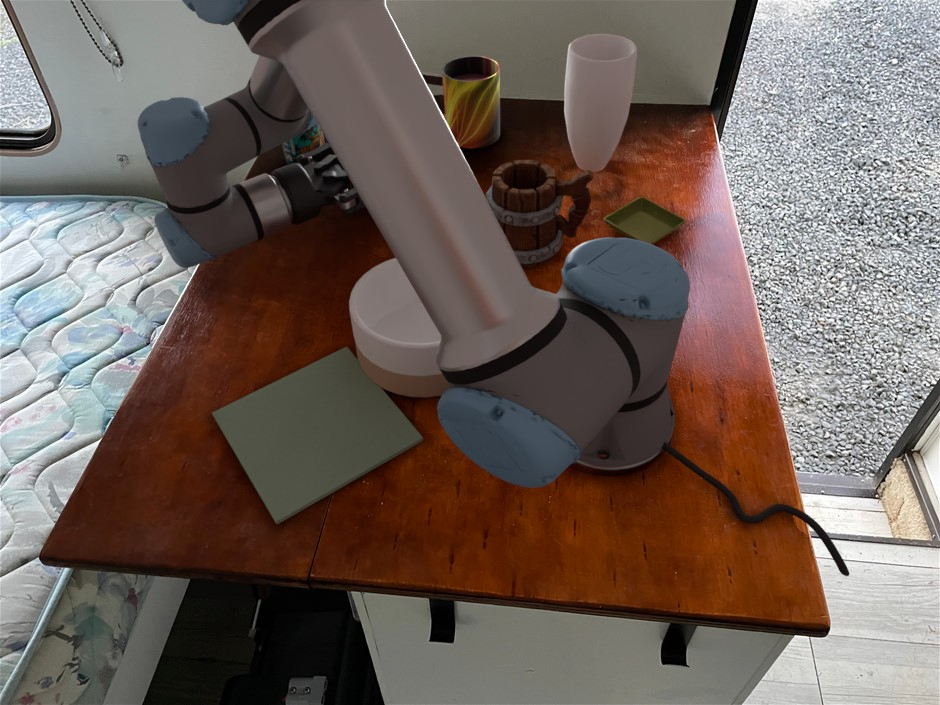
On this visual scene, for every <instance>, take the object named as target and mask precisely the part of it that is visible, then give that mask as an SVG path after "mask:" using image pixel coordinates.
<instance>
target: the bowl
mask: <svg viewBox="0 0 940 705" xmlns="http://www.w3.org/2000/svg"><path fill="white" fill-rule="evenodd" d="M348 309H349V318H350V322H351V328H352V335H353V339H354V344H355V349H356V356H357V357H356V358H357V359H358V360H359V363H360V366H361V368H362V369H363V371H364V372H365V374H366V375H367V377H368V378H370V379H371V380H372V381H373V382H374V383H375V384H377V385H378V386H380V387H381V388H382V389H383V390H384V391H388V392H390V393H393V394H396V395H398V396H399V395H400V396H404V397H410V398H432V397H433V398H434V397H441V396H442V395H443V393H444V392H445V391H446V390H447V389H450V386H449V384H448V382H447V381H446V379H445V377H444V375H443V374H442V372H441V370H440V369H439V367H438V365H437V363H436V355H437V352H438V348H439V345H440V341H441V335H440V333H439V331H438V330H437V328H436V326H435V324H434V323H433V321H432V319H431V318H430V316H429V314H428V312H427V311H426V309H425V307H424V306H423V304H422V302H421V300H420V299H419V297H418V295H417V294H416V292H415V290H414V288H413V287H412V285H411V283H410V282H409V280H408V278H407V276H406V275H405V273H404V271H403V270H402V268H401V266H400V264H399V263H398V261H397V259H396V258H395V257H394V258H391V259H388V260H385V261H383V262H381V263H379V264H377V265H374V266H373V267H372V268H371V269H369V270H368V271H367V272H365V273H364V274H363V275H362V276H361V277H360V278H359V279H358V280H357V281H356V283H355V284H354V286H353V288H352V289H351V292H350V296H349V300H348Z"/></svg>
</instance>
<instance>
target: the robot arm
mask: <svg viewBox="0 0 940 705" xmlns="http://www.w3.org/2000/svg"><path fill="white" fill-rule="evenodd" d="M181 1H182V3H183V4H184V5H185V6H186V7H187V8H188V9H189V10H190V11H191V12H193V13H194V12H195V14H196V16H197V18H199V19H201V20H202V21H203V22H206V23H209V24H212V25H222V26H228V25H231V24H232V23H233V25H234V26H235V27H236V29H237V31H238V32H239V34H240V35H241V37H242V38H243V40H244V42H245V44H246V46H247V47H248V49H249V50H250V52H251V53H252V54H254V55H258V58H257V61H256V63H255V65H254V68H253V70H252V73H251V75H250V78H249V79H248V82H247V84H246V86H245V87H244V88H242V89H240V90H238V91H236V92H234V93H232V94H230V95H228V96H226V97H224V98H222V99H220V100H217V101H214V102H213V103H210V104H208V105H206V106H203V104H201V103H200V102H199V101H198V100H196V99H194V98H191V97H182V96H181V97H180V96H178V97H170V98H169V99H166V100H161V99H160V100H158V101H156V102H153V103H151V104H149V105H148V106H146V107H145V108H144V109H143V110H142V111H141V113H139V116H138V118H137V129H138V133H139V136H140V140H141V142H142V146H143V149H144V152H145V156H146V159H147V161H148V162H149V164H150V166H151V168H152V170H153V174H154V175H155V177H156V179H157V181H158V184H159V186H160V189H161V191H162V193H163V195H164V197H165V198H164V199H165V201H166V207H167V208H163V210H161V211H160V212H158V213H156V215H155V216H154V224H155V226H156V229H157V232H158V234H159V237H160V238H161V240H162V243H163V244H164V246H165V249H166V250H167V252H168V254H169V256H170V257H171V258H172V260H173V262H174V263H175V265H177V266H178V267H180V268H182V269H189V268H192V267H195V266H199V265H201V264H204V263H207V262H210V261H215V260H217V259H219V258H220V257H223V256H225V255H227V254H229V253H231V252H234V251H236V250H238V249H241V248H243V247H245V246H247V245H250V244H252V243H254V242H258V241H260V240H263V239H265V238H268V237H271V236H273V235H275V234H278V233H280V232H283V231H285V230H288V229H290V227H291V225H294V226H298V225H301V224H304V223H306V222H308V221H311V220H314V219H315V218H318V217H319V215H320V213H321V210H322V208H323V207H326V206H333V205H337V206H338V207H340V210H341V214H342V215H350V214H351V213H353V212H356V211H357V210H359V209H363V208H366V209H367V211H368V214H369V215H370V217H371V218H372V220H373V222H374V224H375V225H376V227H377V229H378V230H379V232H380V233H381V235H382V237H383V239H384V241H385V242H386V244H387V246H388V247H389V250H390V251H391V253H392V255H393V256H394V258H396V259H397V261H398V263H399V264H400V266H401V268H402V270H403V271H404V273H405V275H406V276H407V278H408V280H409V282H410V283H411V285H412V287H413V288H414V290H415V292H416V294H417V295H418V297H419V299H420V300H421V302H422V304H423V306H424V307H425V309H426V311H427V312H428V314H429V316H430V318H431V319H432V321H433V323H434V324H435V326H436V328H437V330H438V331H439V333H440V335H441V341H440V345H439V348H438V352H437V355H436V363H437V365H438V367H439V369H440V370H441V372H442V374H443V375H444V377H445V379H446V381H447V382H448V384H449V386H450V389H447V390H446V391H445V392H444V393H443V395H441V396H440V399H439V400H438V402H437V407H436V408H437V409H436V410H437V417H438V420H439V423H440V425H441V428H442V429H443V431H444V432H445V434H446V435H447V437H448V438H449V439H450V441H451V442H452V443H453V444H454V445H455V446H456V447H457V448H458V449H459V450H460V451H461V452H462V454H464V455H465V456H466V457H467V458H468V459H469V460H470V461H471V462H473V463H474V464H475V465H477V466H478V467H480V468H481V469H482V470H484V471H486V472H487V473H489V474H490V475H492V476H494V477H495V478H497V479H499V480H501V481H503V482H506V483H508V484H510V485H514V486H518V487H522V488H528V489H535V488H537V489H538V488H542V487H545V486H548V485H550V484H552V483H553V482H555V480H557V479H558V478H559V477H560V475H562V474H563V473H564V471H566V470H567V469H568V467H572V468H574V469H575V470H578V471H581V472H584V473H587V474H590V475H595V476H601V477H602V476H604V477H620V476H621V477H622V476H627V475H632V474H636V473H638V472H641V471H643V470H645V469H647V468H650V466H652V465H654V464H655V463H657V461H658V460H659V459H661V458H662V457H663V455H664V454H665V453H668V454H669V455H670V456H672V457H673V458H674V459H676V460H677V461H678V462H680V463H681V464H682V465H684V467H686V468H687V469H689V470H690V471H691V472H692V473H694V474H696V475H697V476H698V477H700V478H701V479H703V480H704V481H706V482H707V483H708V484H710V485H711V486H713V487H714V488H716V489H717V491H719V492H720V493H722V495H724V497H726V499H727V500H728V501H729V503H730V506H731V508H732V511H733V513H734V514H735V516H736V517H737V518H738V519H739V520H740V521H742V522H744V523H747V524H754V525H755V524H759V523H761V522H762V523H763V522H764V521H765V520H767V519H768V518H769V517H771V516H773V515H774V514H777V513H779V512H782V513H783V512H784V513H787V514H789V515H792V516H794V517H796V518H798V519H800V520H801V521H803V523H805V524H807V525H808V526H809V527H810V529H812V530H813V531H814V532H815V534H816V535H817V537H819V539H820V540H821V542H822V543H823V544H824V547H825V548H826V549H827V551H828V553H829V554H830V556H831V558H832V560H833V562H834V563H835V565H836V567H837V569H838V571H839V573H840V574H841V575H843V576H845V577H850V571H849V568H848V567H847V564H846V562H845V561H844V559H843V557H842V556H841V554H840V552H839V550H838V549H837V547H836V545H835V544H834V542H833V540H832V539H831V537H830V536H829V535H828V533H827V532H826V530H824V528H823V527H822V526H821V525H820V523H818V522H817V521H816V520H815V519H814V518H813V517H811V516H810V515H809V514H807V513H806V512H805V511H803V510H801V509H799V508H797V507H794V506H792V505H788V504H786V503H775V504H773V505H770V506H768V507H767V508H765V509H764V510H762V511H761V512H759V513H757V514H755V515H750V514H746V513H745V512H744V511H743V509H742V508H741V505H740V502H739V500H738V498H737V497H736V495H735V494H734V493H733V491H732V490H730V489H729V488H728V487H727V486H726V485H725V484H724V483H722V482H721V481H720V480H719V479H717V478H716V477H714V476H713V475H711V474H710V473H709V472H707V471H705V470H704V469H703V468H702V467H700V466H699V465H697V464H695V463H694V462H693V460H690V459H689V458H688V457H686V456H685V455H684V454H682V453H681V452H680V451H678V450H677V449H676V448H675V447H673V446H672V445H670V444H671V441H672V438H673V434H674V430H675V424H676V416H675V408H674V405H673V400H672V398H671V392H670V387H669V378H670V375H671V371H672V370H671V369H672V366H673V363H674V359H675V356H676V351H677V347H678V343H679V340H680V335H681V332H682V328H683V324H684V319H685V316H686V314H687V312H688V310H689V308H690V306H689V304H690V302H689V296H690V290H691V282H690V281H691V280H690V277H689V274H688V272H687V271H686V270H685V269H684V266H683V264H682V263H681V262H680V261H679V259H677V258H676V257H675V256H674V255H673V254H671V253H670V252H668V251H666V250H665V249H663V248H661V247H658V246H657V245H654V244H649V243H646V242H643V241H639V240H635V239H630V238H626V237H612V236H611V237H610V236H608V237H606V236H605V237H599V238H593V239H590V240H587V241H585V242H582V243H580V244H578V245H576V246H575V247H574V248H573V249H572V250H571V251H570V252H568V254H567V256H566V258H565V260H564V265H563V267H562V268H561V278H562V284H561V286H560V288H559V289H558V291H557V292H556V293H554V292H551V291H547V290H544V289H540V288H537V287H535V286H533V285H531V282H530V280H529V278H528V276H527V275H526V272H525V271H524V269H523V268H522V267H521V265H520V263H519V261H518V259H517V257H516V255H515V253H514V251H513V249H512V248H511V246H510V244H509V242H508V240H507V238H506V236H505V234H504V232H503V230H502V228H501V226H500V224H499V223H498V221H497V219H496V217H495V215H494V213H493V211H492V209H491V207H490V205H489V203H488V201H487V197H486V195H485V194H484V192H483V190H482V187H481V186H480V184H479V182H478V179H477V178H476V176H475V174H474V172H473V170H472V169H471V167H470V165H469V163H468V161H467V159H466V158H465V155H464V153H463V151H462V150H461V147H459V146H458V144H457V142H456V140H455V138H454V136H453V134H452V132H451V130H450V128H449V126H448V124H447V122H446V121H445V119H444V117H443V115H442V114H443V113H442V111H441V109H440V107H439V105H438V103H437V101H436V99H435V97H434V95H433V93H432V92H431V90H430V88H429V86H428V84H426V82H425V80H424V78H423V76H422V74H421V72H422V71H421V70H420V69H419V67H418V65H417V63H416V61H415V59H414V57H413V55H412V53H411V51H410V49H409V47H408V45H407V44H406V42H405V39H404V38H403V36H402V34H401V32H400V30H399V28H398V27H397V24H396V22H395V20H394V19H393V17H392V15H391V13H390V11H389V9H388V6H387V0H181ZM420 71H421V72H420ZM315 124H318V125H319V127H320V129H321V130H322V132H323V137H324V138H325V139H326V141H327V142H326V143H325V144H324V145H322V146H320V147H318V148H316V149H315V150H313V151H311V152H307V153H304V154H300V155H298V156H297V161H298V164H297V163H292V164H289V165H287V164H286V165H283V166H282V167H279V168H276V169H273V170H272V171H271V173H270V174H268V173H266V172H265V173H262V174H259V175H256V176H253V177H252V178H249V179H246V180H243V181H242V182H238V183H236V184H233V185H230V183H229V179H228V175H227V174H228V173H229V172H231V171H233V170H235V169H236V168H238V167H241V166H242V165H244V164H246V163H248V162H250V161H252V160H253V159H255V158H257V157H259V156H262V155H263V154H265V153H267V152H269V151H271V150H273V149H274V148H276V147H279V146H280V145H282V143H284V142H286V141H288V140H290V139H292V138H295V137H298V136H300V135H302V134H303V133H304V132H305V131H306V130H308V129H309V128H311V127H312V126H314V125H315ZM350 187H351V189H350Z"/></svg>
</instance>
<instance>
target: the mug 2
mask: <svg viewBox="0 0 940 705" xmlns="http://www.w3.org/2000/svg"><path fill="white" fill-rule="evenodd" d="M594 176H595V175H594V172H592V171H590V170H586V171H584V170H583V171H581V172H579V173H577V174H576V175H575V176H573V177H572V178H570V179H569V178H568V179H563V180H562V179H558V176H557V173H556V171H555V170H554V169H553V168H552V167H551V166H550V165H549V164H547V163H543V164H542V163H541V161H539V160H538V161H537V160H534V159H516V160H513V162H511V161H508V162H506V163H503V164H501V165H499V167H497V168H496V169H495V170H494V172H493V174H492V177H491V178H492V179H491V186H490V187H489V189H488V191H486V192H485V198H486V199H487V201H488V203H489V205H490V207H491V209H492V211H493V213H494V215H495V217H496V219H497V221H498V223H499V224H500V226H501V228H502V230H503V232H504V234H505V236H506V238H507V240H508V242H509V244H510V246H511V248H512V249H513V251H514V253H515V255H516V257H517V259H518V261H519V263H520V265H521V267H522V269H523V270H524V269H526V270H527V269H532V268H537V267H538V266H539V267H540V266H543V265H545V264H548V263H550V262H551V261H552V260H553V259H555V257H556V256H557V254H558V252H559V251H560V250H561V248H562V246H563V242H564V236H565V237H568V238H569V239H573V238H576V237H577V233H578V229H579V227H580V225H582V223H583V221H584V219H585V218H586V216H587V214H588V213H589V209H590V206H591V203H592V196H591V189H590V187H588V184H589V183H591V181H592V180H594ZM564 196H565V197H571V200H572V201H571V202H572V203H573V204H572V205H571V206H570V207H569V208H568V210H567V216H568V220H567V218H566V217H565V216H563V215H562V214H559V213H560V211H561V209H562V206H563V200H564V198H565V197H564ZM537 265H538V266H537Z"/></svg>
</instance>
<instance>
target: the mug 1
mask: <svg viewBox="0 0 940 705" xmlns="http://www.w3.org/2000/svg"><path fill="white" fill-rule="evenodd" d="M500 69H501V66H500V64H499V62H497V61H496V60H495V59H492V58H490V57H486V56H480V55H466V56H459V57H456V58H453V59H451V60H449V61H447V62H446V63H444V64H443V66H442V68H441V73H436V72H435V73H434V72H427V71H421V70H419V71H420V72H421V74H422V76H423V78H424V80H425V82H426V84H427V85H432V86H439V87H442V89H443V90H442V92H443V104H444V105H443V106H444V113H442V115H443V117H444V119H445V121H446V122H447V124H448V126H449V128H450V130H451V132H452V134H453V136H454V138H455V140H456V142H457V144H458V146H459V147H460V148H463V149H480V148H484V147H488V146H491V145H492V144H494V143H496V142H497V141H498V140H499V139H500V136H501V72H500V71H501V70H500Z"/></svg>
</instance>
